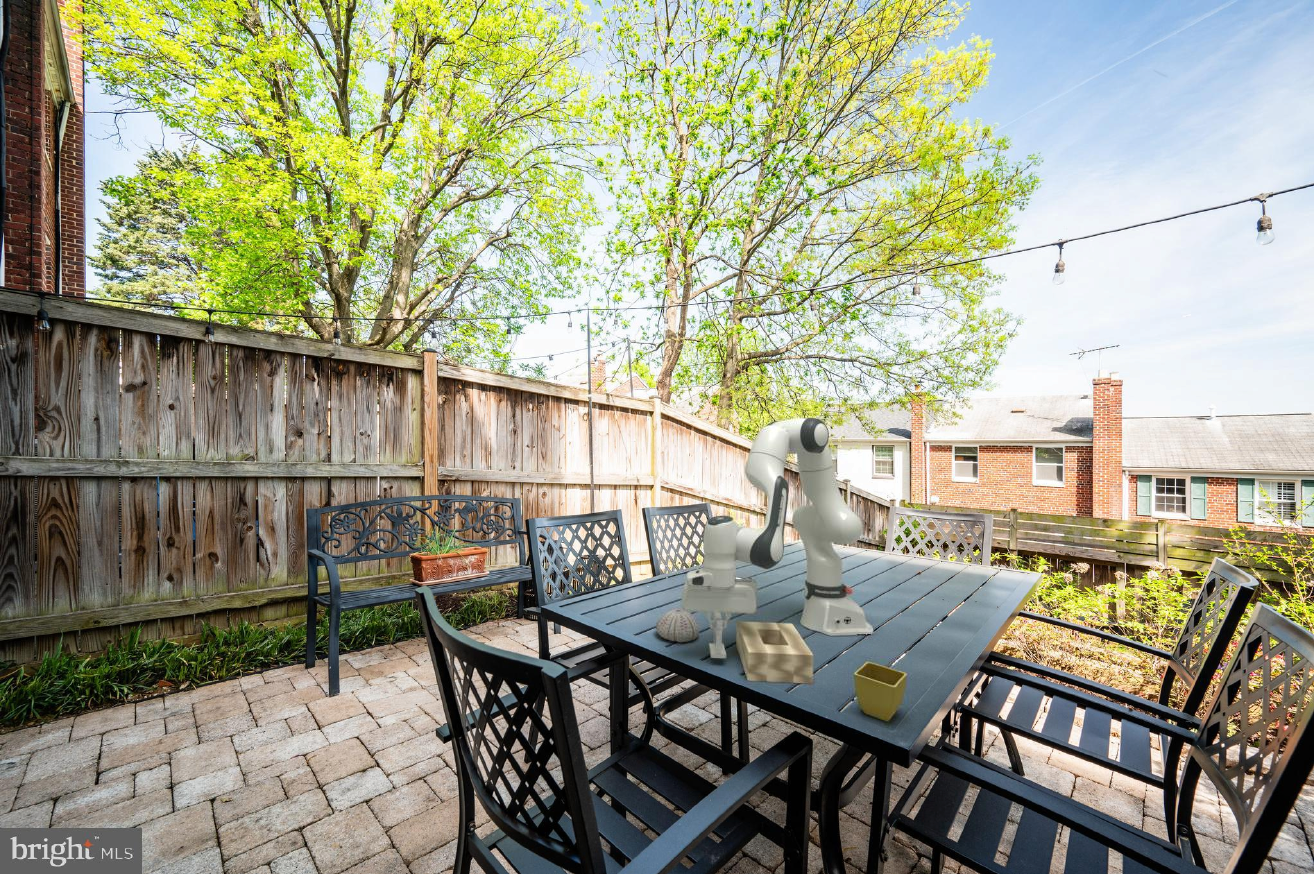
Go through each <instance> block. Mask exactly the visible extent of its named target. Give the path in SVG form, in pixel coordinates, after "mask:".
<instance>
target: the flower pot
mask: <svg viewBox="0 0 1314 874" xmlns="http://www.w3.org/2000/svg"><path fill="white" fill-rule="evenodd" d="M907 674H908V673H906V672H903V671H900V670H897V669H893V668H890V667H886V666H884V665H881V664H877V663H874V662H871V661H866V662H865V663H864V664H863V665H861V667H859V669H857V670H856V671H855V672H854V673H853V677H854V687H855V695H856V699H857V703H858V704H859V706H860V708H861V710H862V712H863V713H864V714H866V715H869V716H871V717H874V718H877V719H879V720H882V721H883V722H884V721H885V722H889V721H890V720H891V719H892V717H893V716H894V715H895V714H896V712H897V711H898V710H899V707H900V706H901V703H902V702H903V699H904V695H905V690H906V683H907V676H908V675H907Z"/></svg>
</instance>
